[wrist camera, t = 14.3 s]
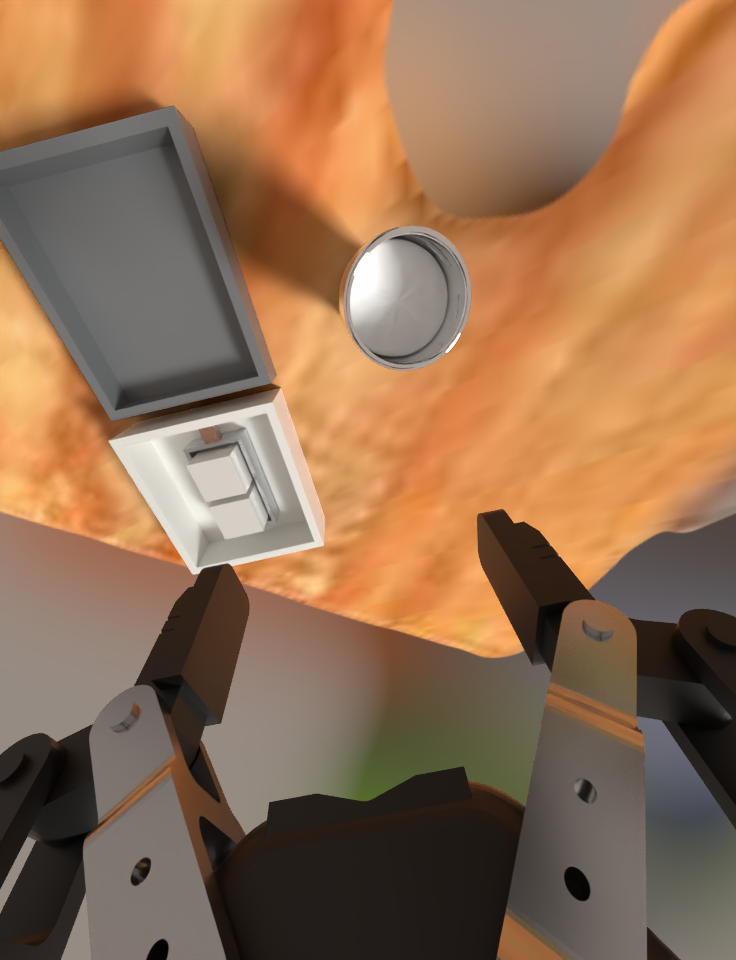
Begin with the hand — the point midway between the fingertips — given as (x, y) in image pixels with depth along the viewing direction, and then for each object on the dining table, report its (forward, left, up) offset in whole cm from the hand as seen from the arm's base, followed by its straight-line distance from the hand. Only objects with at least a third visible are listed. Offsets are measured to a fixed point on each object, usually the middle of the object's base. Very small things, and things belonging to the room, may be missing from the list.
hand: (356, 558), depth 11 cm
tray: (-11, -13, -26) cm, 31 cm away
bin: (+7, -13, -26) cm, 30 cm away
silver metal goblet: (-6, +5, -26) cm, 27 cm away
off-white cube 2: (+10, -13, -24) cm, 29 cm away
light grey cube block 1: (+5, -13, -24) cm, 28 cm away
